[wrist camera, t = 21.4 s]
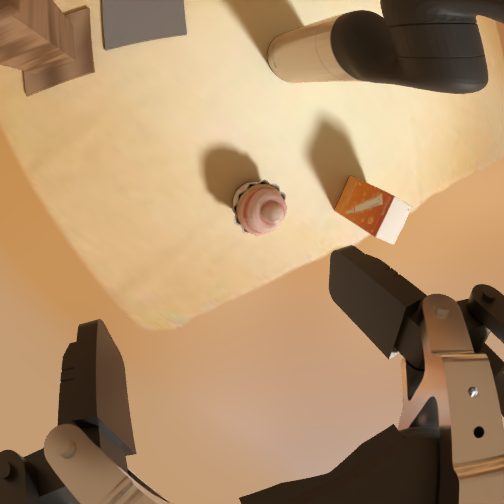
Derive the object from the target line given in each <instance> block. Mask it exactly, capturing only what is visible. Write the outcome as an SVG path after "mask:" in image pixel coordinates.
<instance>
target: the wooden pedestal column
mask: <svg viewBox="0 0 504 504" xmlns="http://www.w3.org/2000/svg"><path fill="white" fill-rule="evenodd" d="M0 65H4V66H8V67H12V68H16V69H19V70H23V71H24V81H25V90H26V96H30V95H33V94H35V93H37V92H40V91H42V90H45V89H47V88H50V87H52V86H55V85H58V84H60V83H63V82H66V81H69V80H72V79H75V78H78V77H81V76H84V75H87V74H90V73H93V72H95V70H94V62H93V52H92V40H91V26H90V9H89V8H86V9H83V10H80V11H76V12H73V13H70V14H67V15H64V14H63V13H62V12H61V10H60V9H59V8H58V6H57V5H56V4H55V3H54V1H53V0H0Z"/></svg>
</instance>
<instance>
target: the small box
mask: <svg viewBox="0 0 504 504" xmlns="http://www.w3.org/2000/svg"><path fill="white" fill-rule="evenodd" d="M411 208H412V206H410V205H408V204H407V203H405V202H403V201H402V200H400V199H398V198H397V197H395V196H393V195H391V194H389V193H387V192H385V191H383V190H381V189H379V188H377V187H375V186H373V185H370V184H368V183H366V182H364V181H362V180H359V179H357V178H355V177H353V176H349V179H348V181H347V184H346V186H345V188H344V190H343V193H342V195H341V197H340V199H339V201H338V203H337V205H336V207H335V209H334V211H336V212H337V213H339V214H340V215H342V216H343V217H345V218H347V219H348V220H350V221H351V222H353V223H354V224H356V225H358V226H359V227H361V228H362V229H364V230H365V231H367V232H368V233H370V234H371V235H373V236H374V237H376V238H379V239H381V240H383V241H386V242H388V243H390V244H392V245H394V243H395V241H396V239H397V237H398V235H399V233H400V231H401V229H402V228H403V226H404V224H405V220H406V218H407V216H408V214H409V212H410V210H411Z"/></svg>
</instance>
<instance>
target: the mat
mask: <svg viewBox="0 0 504 504" xmlns="http://www.w3.org/2000/svg"><path fill="white" fill-rule="evenodd" d="M102 11H103V28H104V40H105V50H109V49H113V48H117V47H121V46H125V45H130V44H134V43H139V42H144V41H149V40H155V39H161V38H167V37H174V36H181V35H186V34H187V31H186V21H185V11H184V0H102Z"/></svg>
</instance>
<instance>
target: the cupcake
mask: <svg viewBox="0 0 504 504" xmlns="http://www.w3.org/2000/svg"><path fill="white" fill-rule="evenodd" d="M285 199H286V195H285V194H284V193H283V192H280V188H279V186H278V185H277V184H270V183H269V182H268V181H266V180H263V181H260V182H248V183H246V184H244V185H242V186H241V187H239V188H238V190H237V191H236V193H235V194H234V198H233V208H232V210H233V212H234V213H235V220H234V223H235V224H236V225H239V226H241V227H242V231H243V233H251V234H254V235H255V236H258V235H263V234H267V233H269V232H271V231H274V230H275V229H277V228H278V227H279V226H280V224H281V223H282V221H283V219H284V217H285V215H286V210H287V206H286V203H285Z"/></svg>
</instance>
